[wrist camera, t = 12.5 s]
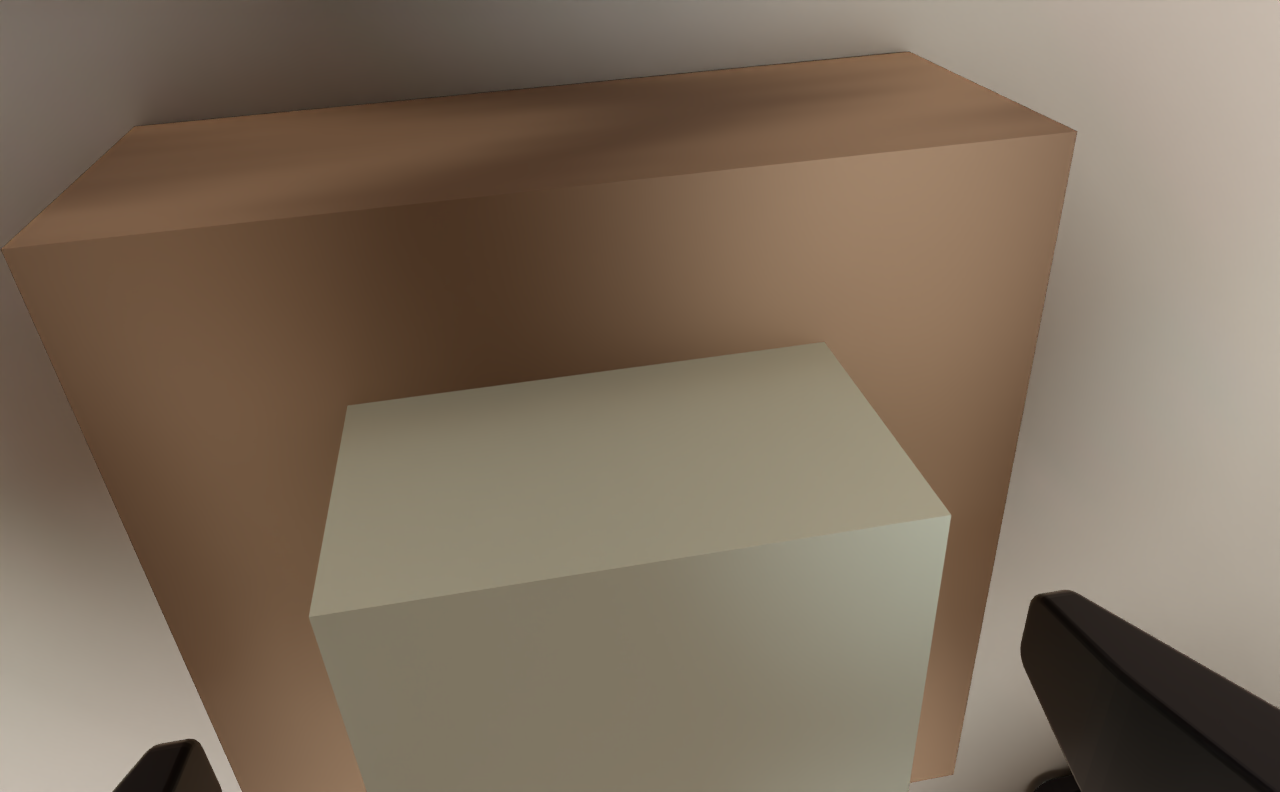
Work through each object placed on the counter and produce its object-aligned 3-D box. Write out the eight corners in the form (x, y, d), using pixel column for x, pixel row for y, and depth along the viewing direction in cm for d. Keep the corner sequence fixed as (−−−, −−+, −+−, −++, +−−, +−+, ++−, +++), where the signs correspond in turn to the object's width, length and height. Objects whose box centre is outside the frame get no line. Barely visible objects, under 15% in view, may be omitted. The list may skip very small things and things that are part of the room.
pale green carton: (824, 340, 10) (952, 515, 7) (803, 716, 13) (887, 927, 11) (347, 405, 9) (307, 616, 7) (445, 782, 12) (443, 1022, 10)
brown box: (909, 52, 13) (1077, 130, 9) (858, 596, 18) (953, 774, 14) (134, 126, 11) (1, 248, 8) (323, 686, 17) (291, 902, 13)
